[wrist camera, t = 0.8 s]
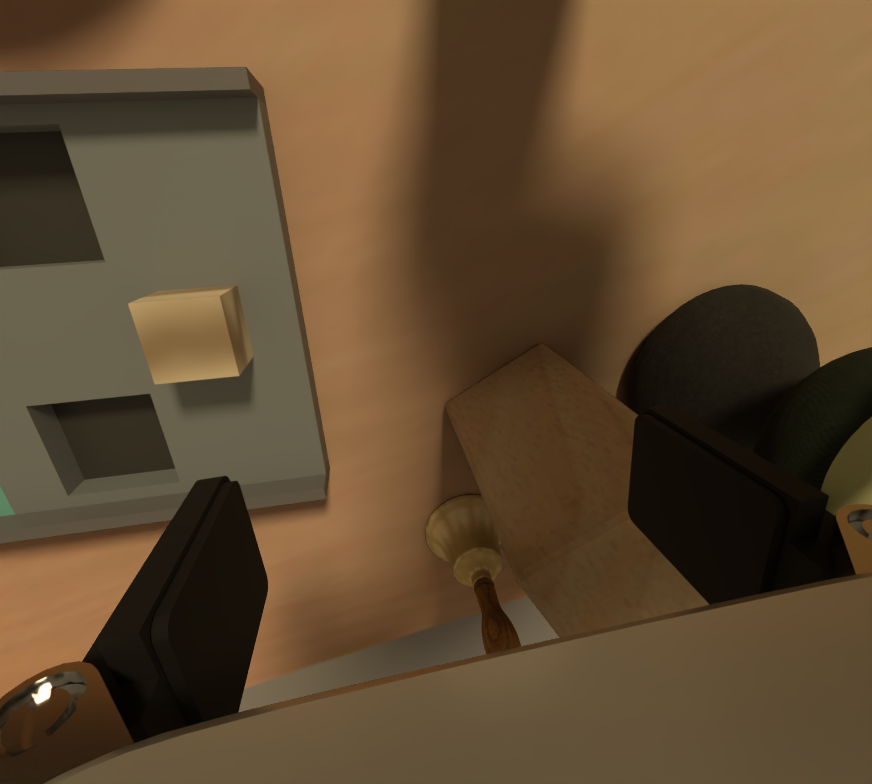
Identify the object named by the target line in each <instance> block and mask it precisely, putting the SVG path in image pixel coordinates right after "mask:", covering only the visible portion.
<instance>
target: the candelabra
mask: <svg viewBox="0 0 872 784" xmlns="http://www.w3.org/2000/svg"><path fill="white" fill-rule="evenodd" d="M664 405H670V406H672V407H674V408H676V409H678V410H679V411H681V412H683V413H685V414H686V415H688V416H690V417H692V418H693V419H695V420H697V421H699V422H700V423H702V424H704V425H706V426H707V427H709V428H711V429H713V430H715V431H716V432H718V433H720V434H722V435H723V436H725V437H727V438H729V439H730V440H732V441H734V442H736V443H737V444H739V445H741V446H743V447H744V448H746V449H748V450H750V451H751V452H753V453H755V454H757V455H758V456H760V457H762V458H764V459H766V460H767V461H769V462H771V463H773V464H774V465H776V466H778V467H780V468H781V469H783V470H785V471H787V472H788V473H790V474H792V475H794V476H795V477H797V478H799V479H801V480H802V481H804V482H806V483H808V484H810V485H811V486H813V487H815V488H817V489H818V490H820V491H822V492H824V493H825V494H827V495H829V499H828V502H827V506H826V510H825V512H826V513H828V514H830V515H831V516H833V517H835V515H836V512H837V511H838V510H839V509H840V508H841V507H844V506H847V505H852V504H868V505H872V347H871V348H867V349H863V350H859V351H856V352H852V353H849V354H847V355H845V356H842V357H840V358H838V359H835V360H833V361H831V362H829V363H827V364H826V365H824V366H822V367H820V361H819V354H818V348H817V342H816V338H815V336H814V333H813V331H812V329H811V327H810V326H809V324H808V322H807V321H806V319H805V317H804V316H803V314H802V313H801V312H800V310H799V309H798V308H797V307H796V306H795V305H794V304H793V303H791V302H790V301H789V300H787V299H785V298H783V297H781V296H780V295H778V294H776V293H774V292H772V291H770V290H768V289H765V288H761V287H758V286H753V285H742V284H741V285H731V286H725V287H721V288H717V289H713V290H710V291H708V292H706V293H703V294H701V295H699V296H697V297H695V298H693V299H692V300H690V301H688V302H687V303H685V304H683V305H682V306H681V307H679V308H678V309H677V310H676V311H674V312H673V313H672V314H670V315H669V316H668V317H667V318H666V319H665V320H664V321H663V322H662V323H661V324H660V325H659V326H658V327H657V329H656V330H655V331H654V332H653V333H652V334H651V336H650V337H649V338H648V339H647V340H646V342H645V344H644V347H643V349H642V350H641V352H640V354H639V355H638V357H637V359H636V361H635V363H634V365H633V370H632V373H631V377H630V380H629V385H628V393H627V407H628V408H629V409H631V410H632V411H633V412H635V413H636V414H637V415H640V414H641V412H642V410H643V409H645V408H651V407H657V406H664Z"/></svg>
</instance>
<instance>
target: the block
mask: <svg viewBox="0 0 872 784" xmlns="http://www.w3.org/2000/svg"><path fill="white" fill-rule="evenodd" d="M128 306H129V309H130V312H131V315H132V318H133V321H134V324H135V327H136V330H137V333H138V336H139V339H140V342H141V345H142V348H143V351H144V354H145V357H146V360H147V363H148V366H149V369H150V372H151V375H152V378H153V381H154V384H165V383H175V382H185V381H195V380H204V379H214V378H224V377H234V376H240V374H241V373H242V372H243V370H244V369H245V367H246V366H247V365H248V363H249V362H250V360H251V359H252V358H253V352H252V348H251V343H250V339H249V334H248V330H247V326H246V321H245V317H244V313H243V308H242V304H241V300H240V295H239V291H238V286H237V285H233V286H220V287H207V288H194V289H181V290H168V291H157V292H155V293H152V294H150V295H147V296H145V297H142V298H140V299H138V300H135V301H133V302H130V303H128Z"/></svg>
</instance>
